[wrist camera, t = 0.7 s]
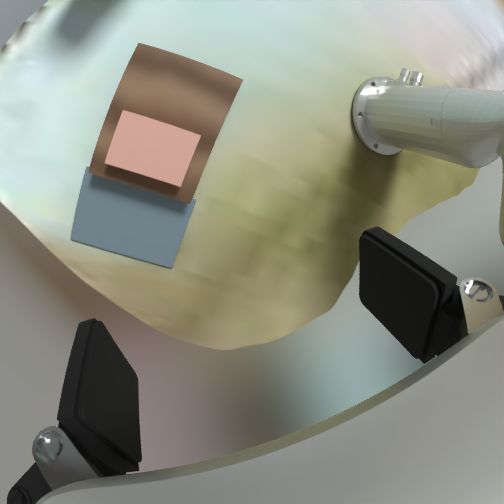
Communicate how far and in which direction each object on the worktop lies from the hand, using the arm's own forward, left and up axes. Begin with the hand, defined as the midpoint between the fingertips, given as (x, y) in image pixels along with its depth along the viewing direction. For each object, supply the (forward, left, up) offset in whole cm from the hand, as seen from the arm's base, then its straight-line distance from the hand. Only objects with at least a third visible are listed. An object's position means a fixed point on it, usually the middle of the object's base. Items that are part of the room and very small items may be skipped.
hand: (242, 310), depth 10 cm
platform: (-5, -5, -29) cm, 30 cm away
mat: (+8, -5, -29) cm, 31 cm away
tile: (-2, -5, -25) cm, 26 cm away
